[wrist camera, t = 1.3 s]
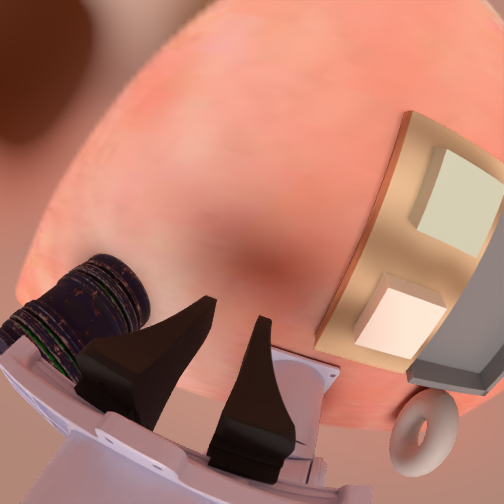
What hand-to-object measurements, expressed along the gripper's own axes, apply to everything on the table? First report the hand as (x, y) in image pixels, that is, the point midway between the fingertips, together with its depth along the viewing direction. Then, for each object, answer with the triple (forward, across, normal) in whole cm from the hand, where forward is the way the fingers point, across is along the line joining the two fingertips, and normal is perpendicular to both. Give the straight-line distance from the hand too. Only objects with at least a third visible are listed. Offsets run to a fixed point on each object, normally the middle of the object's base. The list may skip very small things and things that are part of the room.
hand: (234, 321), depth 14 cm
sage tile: (+6, -10, -9) cm, 15 cm away
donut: (+9, -21, +11) cm, 25 cm away
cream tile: (+6, -10, 0) cm, 12 cm away
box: (+8, -21, -4) cm, 23 cm away
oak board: (+8, -10, -4) cm, 14 cm away
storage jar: (+9, +15, +11) cm, 20 cm away
